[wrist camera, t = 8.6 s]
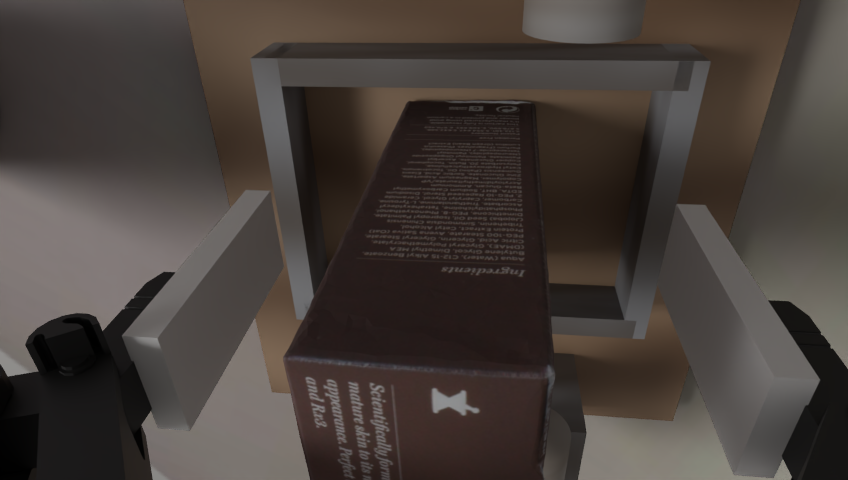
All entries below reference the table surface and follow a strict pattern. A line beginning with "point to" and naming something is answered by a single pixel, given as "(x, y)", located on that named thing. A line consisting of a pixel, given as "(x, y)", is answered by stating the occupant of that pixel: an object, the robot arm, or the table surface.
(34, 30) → the table surface
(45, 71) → the table surface
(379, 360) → the box
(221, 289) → the robot arm
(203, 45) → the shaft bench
